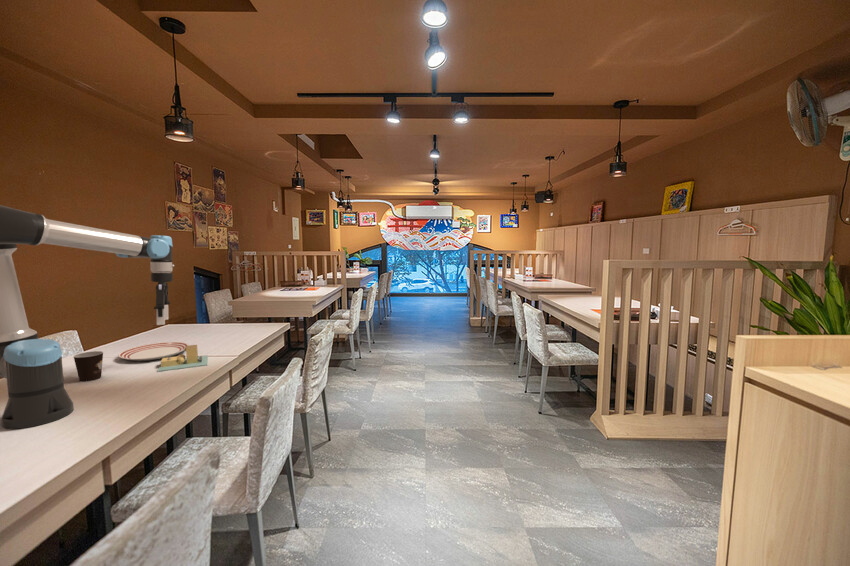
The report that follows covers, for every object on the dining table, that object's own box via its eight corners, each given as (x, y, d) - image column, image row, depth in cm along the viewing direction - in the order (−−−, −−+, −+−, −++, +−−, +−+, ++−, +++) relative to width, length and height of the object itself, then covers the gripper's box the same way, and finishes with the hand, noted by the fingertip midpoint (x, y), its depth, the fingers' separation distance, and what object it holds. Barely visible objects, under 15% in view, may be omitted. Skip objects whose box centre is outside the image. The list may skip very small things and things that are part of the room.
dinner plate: (153, 366, 161) (153, 359, 160) (102, 362, 166) (102, 355, 165) (202, 349, 187) (201, 343, 187) (157, 346, 192) (157, 340, 192)
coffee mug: (87, 383, 139) (85, 358, 138) (69, 381, 141) (67, 356, 140) (118, 373, 150) (116, 350, 149) (101, 371, 152) (99, 348, 151)
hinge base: (207, 365, 162) (206, 357, 161) (157, 371, 153) (157, 363, 152) (207, 356, 176) (207, 348, 175) (162, 361, 166) (161, 353, 166)
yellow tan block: (197, 362, 164) (196, 347, 163) (184, 364, 162) (184, 349, 161) (197, 359, 169) (197, 344, 169) (185, 360, 167) (184, 345, 166)
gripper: (169, 273, 144) (170, 326, 145) (175, 271, 165) (176, 317, 167) (146, 273, 140) (147, 327, 141) (155, 271, 162) (155, 318, 163)
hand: (162, 322), depth 154 cm, fingers open, 13 cm apart
